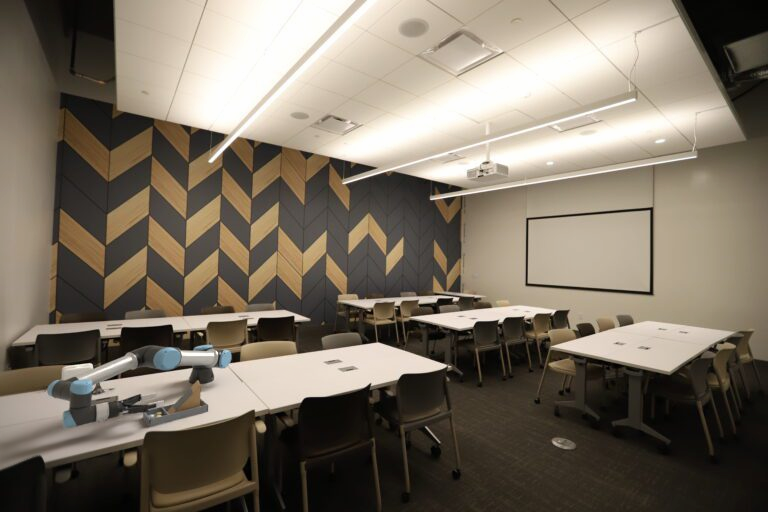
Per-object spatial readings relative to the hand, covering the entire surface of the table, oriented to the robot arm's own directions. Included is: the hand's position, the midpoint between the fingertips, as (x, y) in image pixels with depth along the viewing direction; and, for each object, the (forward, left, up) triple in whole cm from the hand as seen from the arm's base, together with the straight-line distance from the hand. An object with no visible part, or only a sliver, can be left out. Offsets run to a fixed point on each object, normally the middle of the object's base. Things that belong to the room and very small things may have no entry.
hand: (159, 399), depth 180 cm
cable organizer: (+24, -86, -10) cm, 90 cm away
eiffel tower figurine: (+17, -62, -11) cm, 65 cm away
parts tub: (-8, 0, -10) cm, 13 cm away
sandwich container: (-11, -1, -10) cm, 15 cm away
